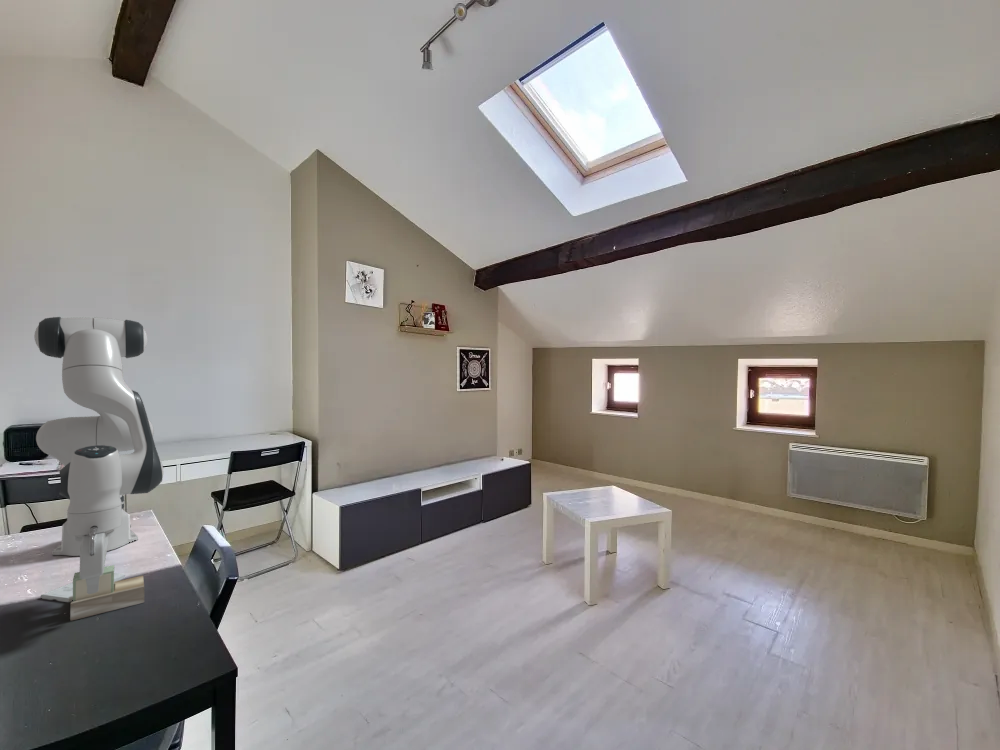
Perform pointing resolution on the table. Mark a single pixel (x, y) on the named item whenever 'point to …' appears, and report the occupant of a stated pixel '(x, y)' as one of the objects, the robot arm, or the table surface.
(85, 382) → the robot arm
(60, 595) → the external hard drive
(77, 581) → the tea box
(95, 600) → the shelf
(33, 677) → the table surface
